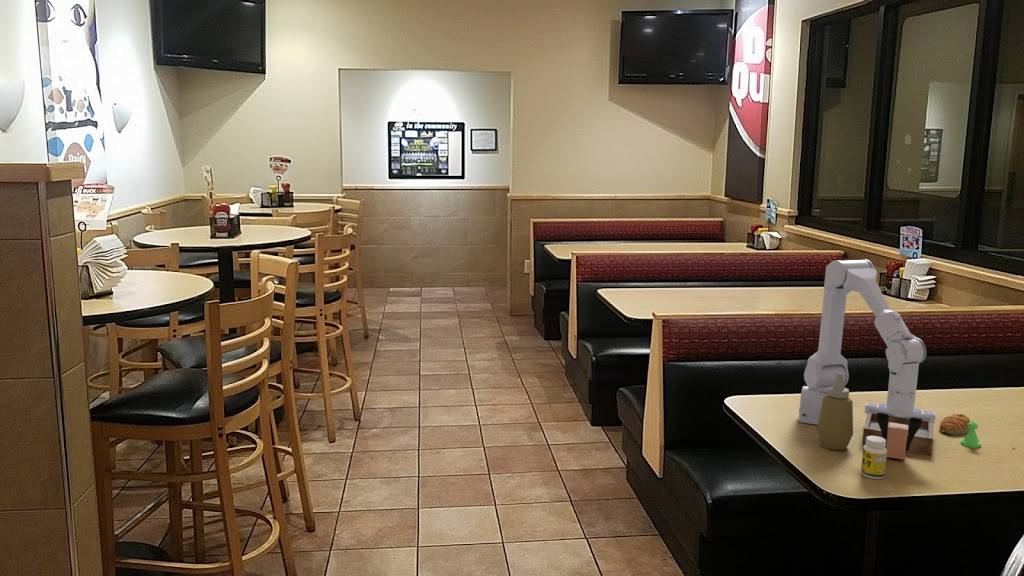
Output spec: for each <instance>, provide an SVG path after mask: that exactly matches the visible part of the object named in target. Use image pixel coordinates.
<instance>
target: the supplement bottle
mask: <svg viewBox="0 0 1024 576" xmlns="http://www.w3.org/2000/svg"><path fill="white" fill-rule="evenodd" d="M885 447H886V440H885V439H884V438H882V437H878V436H867V437H866V444H864V446H863V448H862V458H861V468H860V469H861V470H860V473H861V475H863V476H864V477H866V478H868V479H872V480H881V479H884V478H885V473H886V467H887V466H886V463H887V457H886V456H887V450H886V448H885Z"/></svg>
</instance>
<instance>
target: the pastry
mask: <svg viewBox="0 0 1024 576" xmlns="http://www.w3.org/2000/svg"><path fill="white" fill-rule="evenodd" d="M969 422H972V420H971V419H970V417H968V416H967V415H965V414H963V413H957V414H956V413H953V414H951V415H949V416H945V417H944V418H943V419H942V420H941V421H940V423H939V431H940V432H941V433H946V434H950V435H953V436H956V435H957V436H958V435H965V434H967V433H968V432H969V430H970V428H968V423H969Z"/></svg>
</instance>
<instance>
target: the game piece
mask: <svg viewBox="0 0 1024 576" xmlns="http://www.w3.org/2000/svg"><path fill="white" fill-rule="evenodd" d="M968 428H970V430H969V432H967V433H966V435H965V437H964V438H962V439H961V440H960V444H961V445H962V446H964V447H968V448H972V449H973V448H975V449H977V448H980V447H982V443H981V442H980V441H979V438H978V435H977V433H976V432H977V431H976V429H978V428H979V426H978V422H976V421H973V420H971V422H969V423H968Z"/></svg>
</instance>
